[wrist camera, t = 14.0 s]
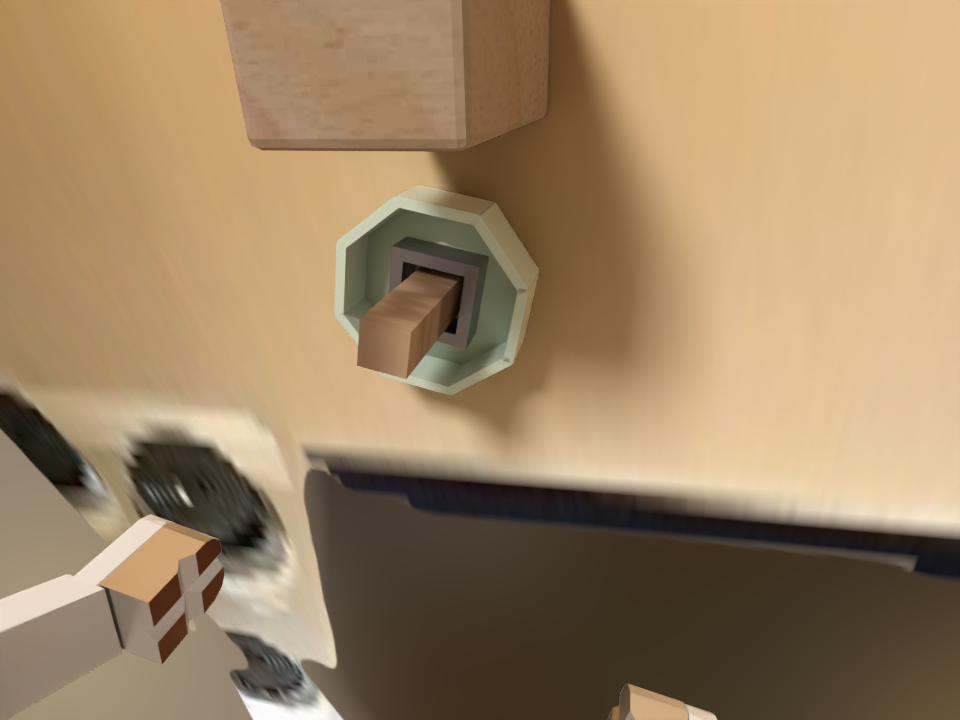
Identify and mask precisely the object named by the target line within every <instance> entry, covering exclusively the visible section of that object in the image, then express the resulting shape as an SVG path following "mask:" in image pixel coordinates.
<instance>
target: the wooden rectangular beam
mask: <svg viewBox="0 0 960 720" xmlns="http://www.w3.org/2000/svg"><path fill="white" fill-rule="evenodd" d="M464 278H465V277H463V276H459V275H455V274H451V273H447V272H443V271H439V270H435V269H431V268H427V267H423V266H421V267H420V268H418V269H417V270H416V271H415V272H414V273H413V274H411V275H410V276H409V277H408V278H407V279H405V280H404V281H403V282H402V283H401V284H400V285H398V286H397V287H396V288H395V289H394V290H393V291H391V292H390V293H389V294H388V295H387V296H385V297H384V298H383V299H382V300H381V301H380V302H378V303H377V304H376V305H375V306H374V307H372V308H371V309H370V310H369V311H368V312H367V313H365V314H364V315H363V316H362V317H361V318H360V320H359V340H358V360H357V366H361V367H364V368H368V369H371V370H375V371H379V372H382V373H386V374H389V375H393V376H396V377H400V378H403V379H407V378H408V377H409V375H410V374H411V373H412V371H413V370H414V369H415V368H416V366H417V365H418V364H419V363H420V361H421V360H422V359H423V358H424V356H425V355H426V354H427V352H428V351H429V350H430V349H431V347H432V346H433V345H434V344H435V342H436V341H437V340H438V338H439V337H440V336H441V335H442V333H443V332H444V331H445V330H446V328H447V327H448V326H449V325H450V323H451V322H452V321H453V319H454V318H455V317H456V316H457V314H458V313H459V310H460V304H461V297H462V291H463V284H464Z"/></svg>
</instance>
